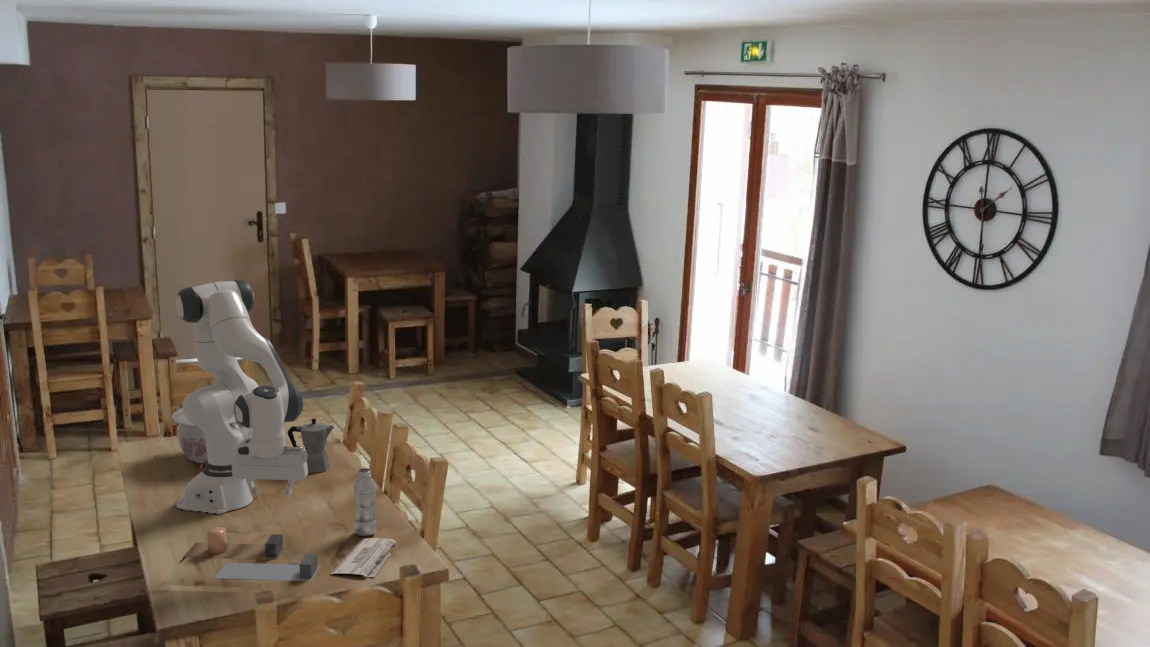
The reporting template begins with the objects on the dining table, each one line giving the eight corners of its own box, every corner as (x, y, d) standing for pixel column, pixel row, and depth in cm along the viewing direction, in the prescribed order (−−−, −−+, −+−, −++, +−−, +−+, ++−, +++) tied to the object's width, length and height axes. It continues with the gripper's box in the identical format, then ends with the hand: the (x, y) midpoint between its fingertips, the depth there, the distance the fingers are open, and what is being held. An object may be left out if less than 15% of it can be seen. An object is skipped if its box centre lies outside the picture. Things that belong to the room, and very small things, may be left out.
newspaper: (373, 582, 273) (371, 573, 273) (330, 581, 276) (329, 573, 275) (403, 545, 295) (402, 536, 294) (363, 544, 298) (362, 536, 297)
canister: (205, 554, 283) (204, 534, 282) (212, 546, 288) (210, 526, 287) (223, 554, 283) (221, 534, 282) (229, 546, 288) (228, 527, 287)
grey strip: (214, 582, 270) (212, 564, 269) (226, 566, 279) (225, 549, 278) (311, 585, 269) (310, 567, 268) (321, 569, 278) (320, 551, 277)
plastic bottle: (355, 529, 303) (353, 466, 299) (378, 529, 304) (376, 466, 299) (352, 539, 297) (350, 474, 292) (376, 538, 298) (374, 474, 293)
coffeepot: (335, 462, 356) (333, 413, 352) (335, 472, 347) (333, 422, 343) (289, 465, 353) (287, 415, 348) (288, 475, 344) (286, 424, 340)
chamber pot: (186, 445, 370) (182, 390, 365) (263, 443, 373) (261, 389, 368) (164, 474, 343) (159, 415, 338) (248, 472, 346) (245, 414, 341)
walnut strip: (183, 560, 282) (181, 543, 280) (196, 546, 290) (194, 529, 289) (276, 563, 281) (275, 546, 280) (286, 549, 290) (285, 532, 289)
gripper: (310, 443, 281) (312, 490, 284) (236, 440, 281) (239, 487, 285) (303, 451, 275) (305, 499, 278) (228, 448, 275) (231, 496, 278)
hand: (271, 493), depth 281 cm, fingers open, 8 cm apart
